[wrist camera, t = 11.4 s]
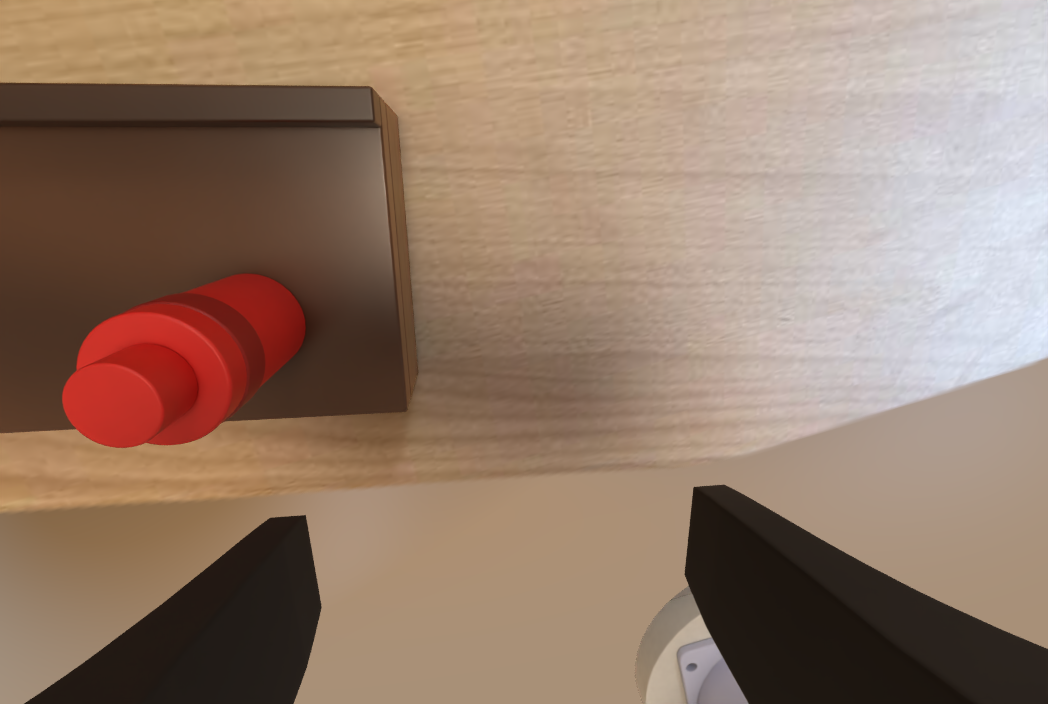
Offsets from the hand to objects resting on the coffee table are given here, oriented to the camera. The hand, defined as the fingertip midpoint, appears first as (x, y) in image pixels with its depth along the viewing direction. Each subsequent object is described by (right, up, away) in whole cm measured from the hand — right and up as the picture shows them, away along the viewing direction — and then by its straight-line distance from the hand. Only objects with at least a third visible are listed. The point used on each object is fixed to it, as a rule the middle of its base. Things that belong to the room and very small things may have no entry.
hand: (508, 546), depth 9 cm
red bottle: (-7, +5, +5) cm, 10 cm away
